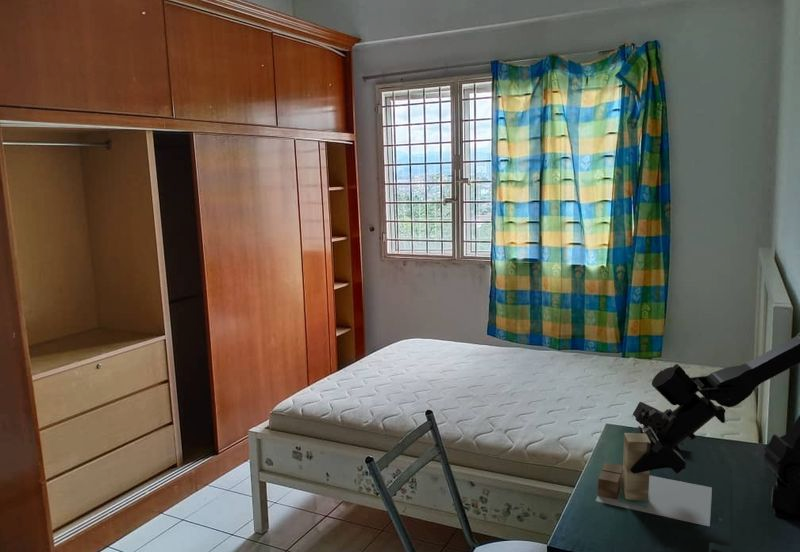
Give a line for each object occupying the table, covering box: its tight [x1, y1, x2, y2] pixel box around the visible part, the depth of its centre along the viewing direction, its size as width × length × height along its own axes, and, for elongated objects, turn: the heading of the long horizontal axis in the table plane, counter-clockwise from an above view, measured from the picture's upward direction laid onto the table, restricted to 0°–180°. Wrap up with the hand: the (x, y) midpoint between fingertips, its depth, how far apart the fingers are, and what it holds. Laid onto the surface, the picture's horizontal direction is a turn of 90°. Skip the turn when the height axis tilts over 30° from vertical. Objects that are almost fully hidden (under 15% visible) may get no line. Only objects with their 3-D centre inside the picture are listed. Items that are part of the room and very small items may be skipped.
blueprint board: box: [595, 474, 713, 527], centre depth 136 cm, size 22×17×1 cm
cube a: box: [597, 470, 621, 500], centre depth 136 cm, size 4×4×4 cm
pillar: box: [622, 432, 651, 501], centre depth 133 cm, size 4×4×13 cm
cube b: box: [601, 461, 623, 489], centre depth 140 cm, size 4×4×4 cm
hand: (629, 466), depth 133 cm, fingers closed on pillar, 4 cm apart
